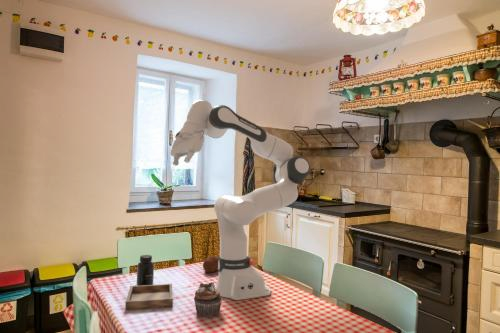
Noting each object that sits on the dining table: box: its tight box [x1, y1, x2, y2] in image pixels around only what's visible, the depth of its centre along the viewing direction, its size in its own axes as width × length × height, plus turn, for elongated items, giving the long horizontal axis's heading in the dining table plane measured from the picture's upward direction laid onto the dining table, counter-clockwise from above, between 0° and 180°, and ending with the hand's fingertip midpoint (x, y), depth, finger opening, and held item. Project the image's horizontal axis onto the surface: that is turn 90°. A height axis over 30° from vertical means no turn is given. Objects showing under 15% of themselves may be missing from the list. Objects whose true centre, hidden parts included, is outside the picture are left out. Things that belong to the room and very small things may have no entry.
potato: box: [202, 255, 219, 274], centre depth 166 cm, size 8×11×8 cm
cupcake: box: [193, 281, 223, 319], centre depth 119 cm, size 10×10×10 cm
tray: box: [125, 283, 174, 311], centre depth 129 cm, size 16×16×3 cm
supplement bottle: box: [136, 254, 155, 286], centre depth 146 cm, size 7×7×12 cm
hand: (180, 163), depth 139 cm, fingers open, 8 cm apart
